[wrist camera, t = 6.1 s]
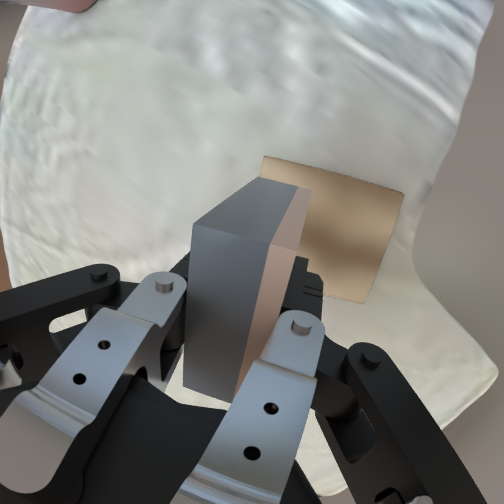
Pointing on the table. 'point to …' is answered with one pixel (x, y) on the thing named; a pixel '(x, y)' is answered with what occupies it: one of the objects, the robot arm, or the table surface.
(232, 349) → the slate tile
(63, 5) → the beverage can
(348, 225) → the tan wavy tile
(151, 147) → the table surface
